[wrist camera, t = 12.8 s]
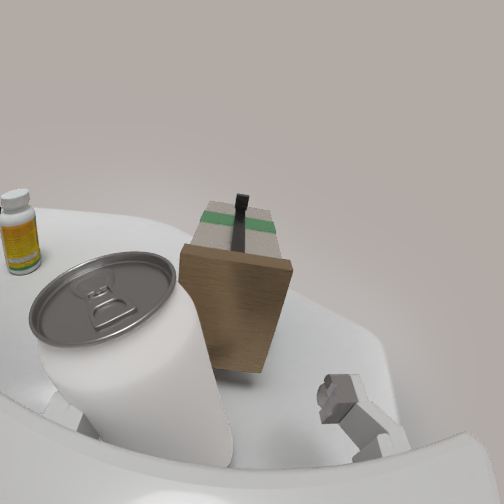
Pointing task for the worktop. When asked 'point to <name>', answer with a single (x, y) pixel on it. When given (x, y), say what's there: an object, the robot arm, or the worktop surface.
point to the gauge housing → (221, 227)
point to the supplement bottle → (19, 232)
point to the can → (133, 357)
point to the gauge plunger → (235, 297)
